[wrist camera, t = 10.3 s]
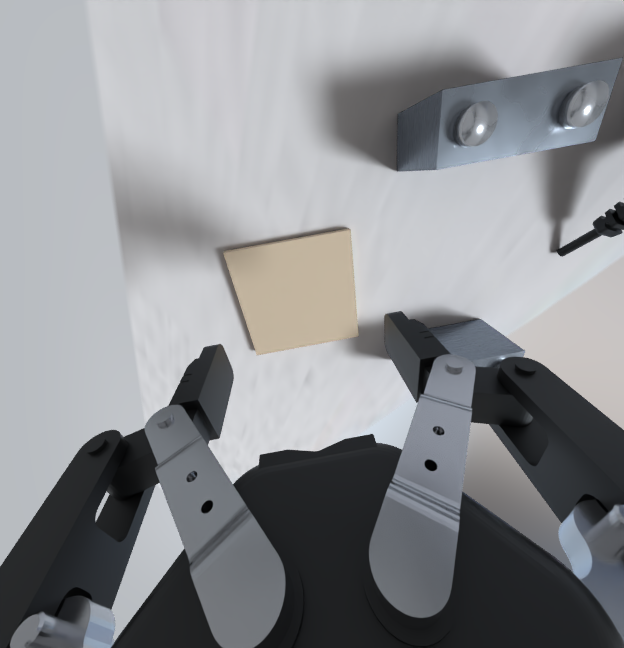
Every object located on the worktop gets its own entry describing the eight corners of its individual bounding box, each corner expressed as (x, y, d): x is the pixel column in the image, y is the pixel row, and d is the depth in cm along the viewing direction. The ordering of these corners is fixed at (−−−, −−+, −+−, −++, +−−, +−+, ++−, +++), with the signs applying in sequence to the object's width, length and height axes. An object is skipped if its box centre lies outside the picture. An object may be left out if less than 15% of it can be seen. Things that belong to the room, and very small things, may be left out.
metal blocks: (397, 114, 15) (450, 85, 11) (528, 90, 15) (639, 51, 11) (394, 360, 25) (421, 404, 20) (475, 345, 25) (521, 385, 20)
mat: (224, 250, 18) (223, 253, 18) (348, 228, 18) (350, 229, 18) (257, 351, 23) (257, 355, 22) (356, 332, 23) (358, 336, 22)
